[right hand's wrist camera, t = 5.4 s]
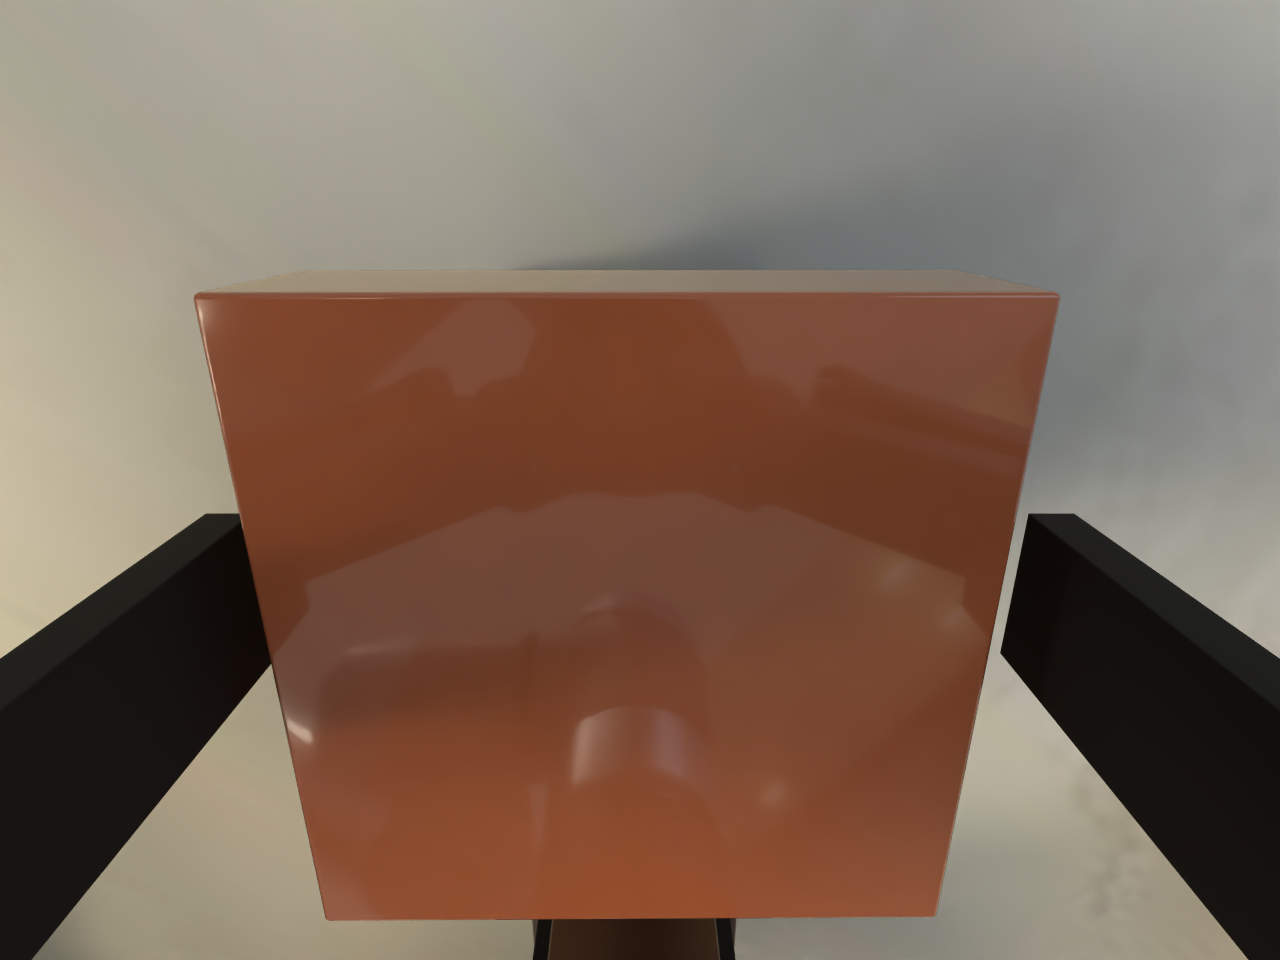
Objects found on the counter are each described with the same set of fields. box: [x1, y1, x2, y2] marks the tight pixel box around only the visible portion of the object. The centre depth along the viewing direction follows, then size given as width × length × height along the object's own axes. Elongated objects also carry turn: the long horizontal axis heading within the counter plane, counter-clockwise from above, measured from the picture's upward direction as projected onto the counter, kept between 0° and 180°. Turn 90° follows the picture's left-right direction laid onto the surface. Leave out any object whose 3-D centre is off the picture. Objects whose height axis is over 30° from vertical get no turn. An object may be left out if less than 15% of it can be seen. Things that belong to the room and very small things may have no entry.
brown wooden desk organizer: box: [533, 918, 736, 960], centre depth 21 cm, size 8×26×12 cm, turn 0°
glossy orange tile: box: [194, 270, 1060, 921], centre depth 12 cm, size 10×10×4 cm
